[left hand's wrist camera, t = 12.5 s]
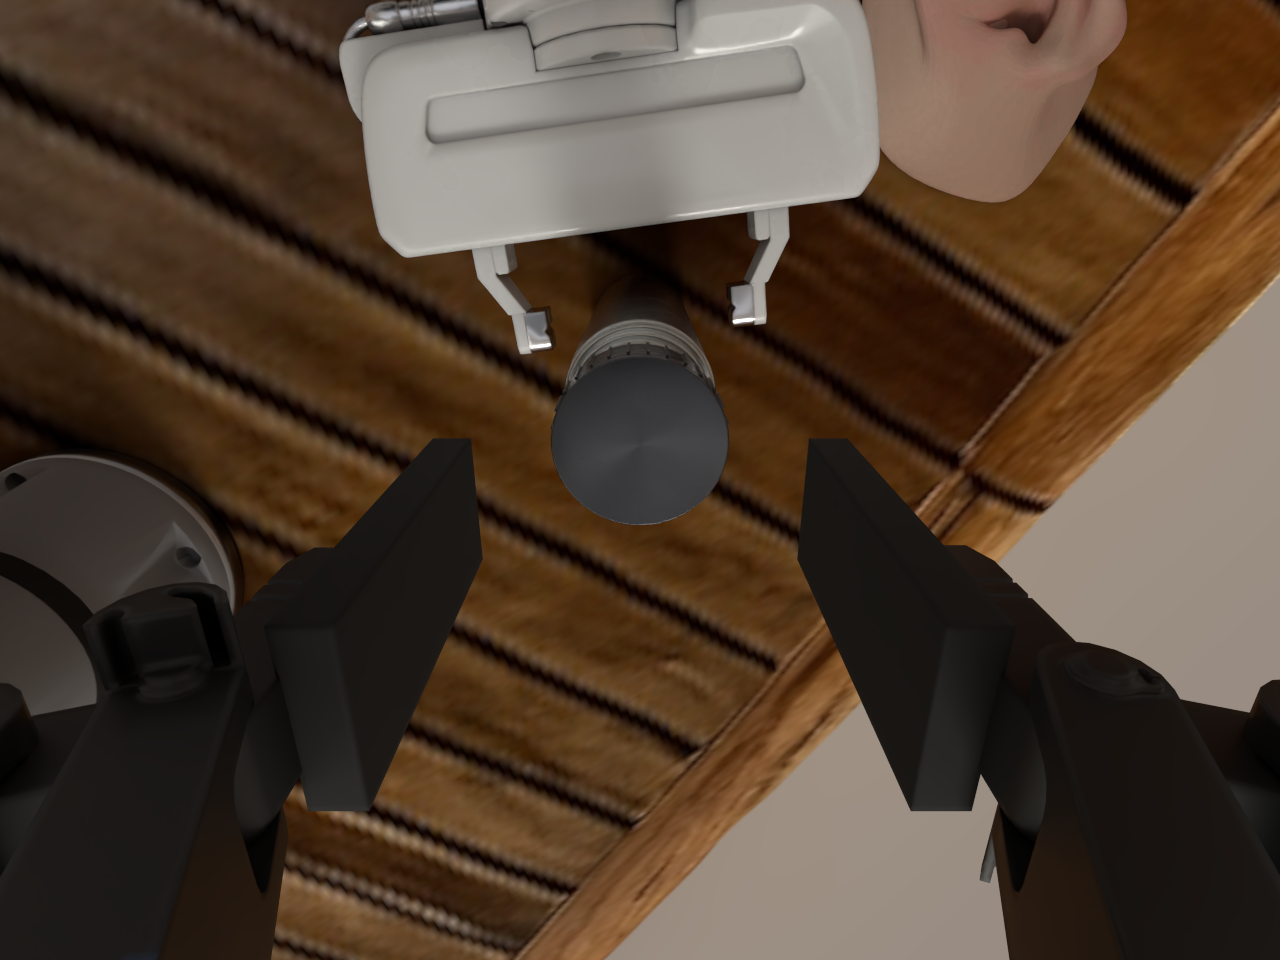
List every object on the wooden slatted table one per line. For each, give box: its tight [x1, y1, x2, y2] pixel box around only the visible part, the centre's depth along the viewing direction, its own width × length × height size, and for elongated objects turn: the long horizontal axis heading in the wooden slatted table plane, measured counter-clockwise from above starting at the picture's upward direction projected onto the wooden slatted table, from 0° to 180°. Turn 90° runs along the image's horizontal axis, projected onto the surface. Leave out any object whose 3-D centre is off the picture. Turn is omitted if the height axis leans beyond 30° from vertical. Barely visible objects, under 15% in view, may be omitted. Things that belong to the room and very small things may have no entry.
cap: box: [551, 342, 729, 525], centre depth 18 cm, size 5×5×2 cm
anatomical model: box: [862, 0, 1127, 202], centre depth 30 cm, size 13×4×12 cm
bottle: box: [565, 274, 716, 392], centre depth 27 cm, size 5×5×20 cm
